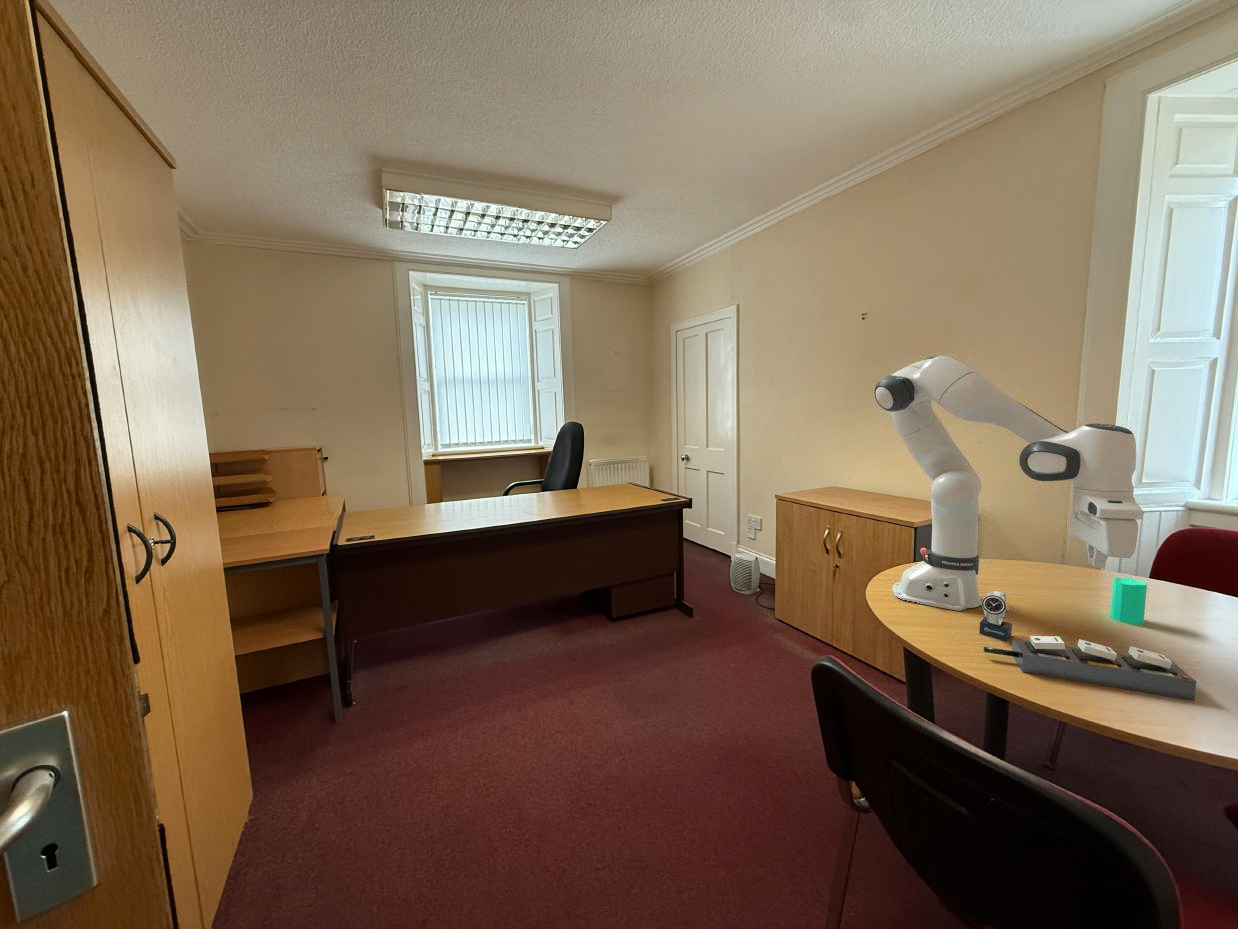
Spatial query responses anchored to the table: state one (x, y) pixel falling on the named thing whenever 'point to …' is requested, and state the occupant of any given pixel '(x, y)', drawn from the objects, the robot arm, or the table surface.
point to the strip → (1101, 669)
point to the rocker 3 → (1150, 657)
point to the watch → (995, 617)
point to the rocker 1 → (1047, 642)
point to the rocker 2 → (1097, 649)
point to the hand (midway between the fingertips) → (1096, 565)
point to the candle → (1128, 600)
